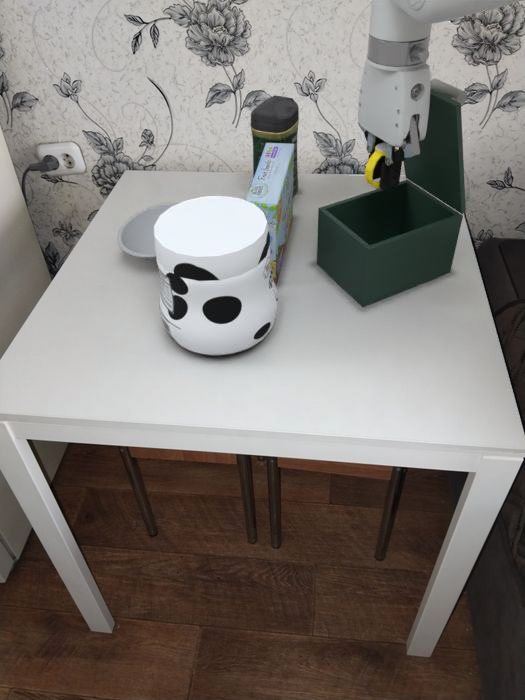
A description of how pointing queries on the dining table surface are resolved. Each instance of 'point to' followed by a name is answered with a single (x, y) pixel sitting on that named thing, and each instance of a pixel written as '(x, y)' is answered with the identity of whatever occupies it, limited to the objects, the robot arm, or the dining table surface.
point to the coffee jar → (275, 128)
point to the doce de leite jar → (215, 274)
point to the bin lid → (441, 148)
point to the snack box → (275, 197)
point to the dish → (141, 232)
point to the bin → (386, 241)
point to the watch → (379, 152)
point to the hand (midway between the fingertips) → (382, 181)
